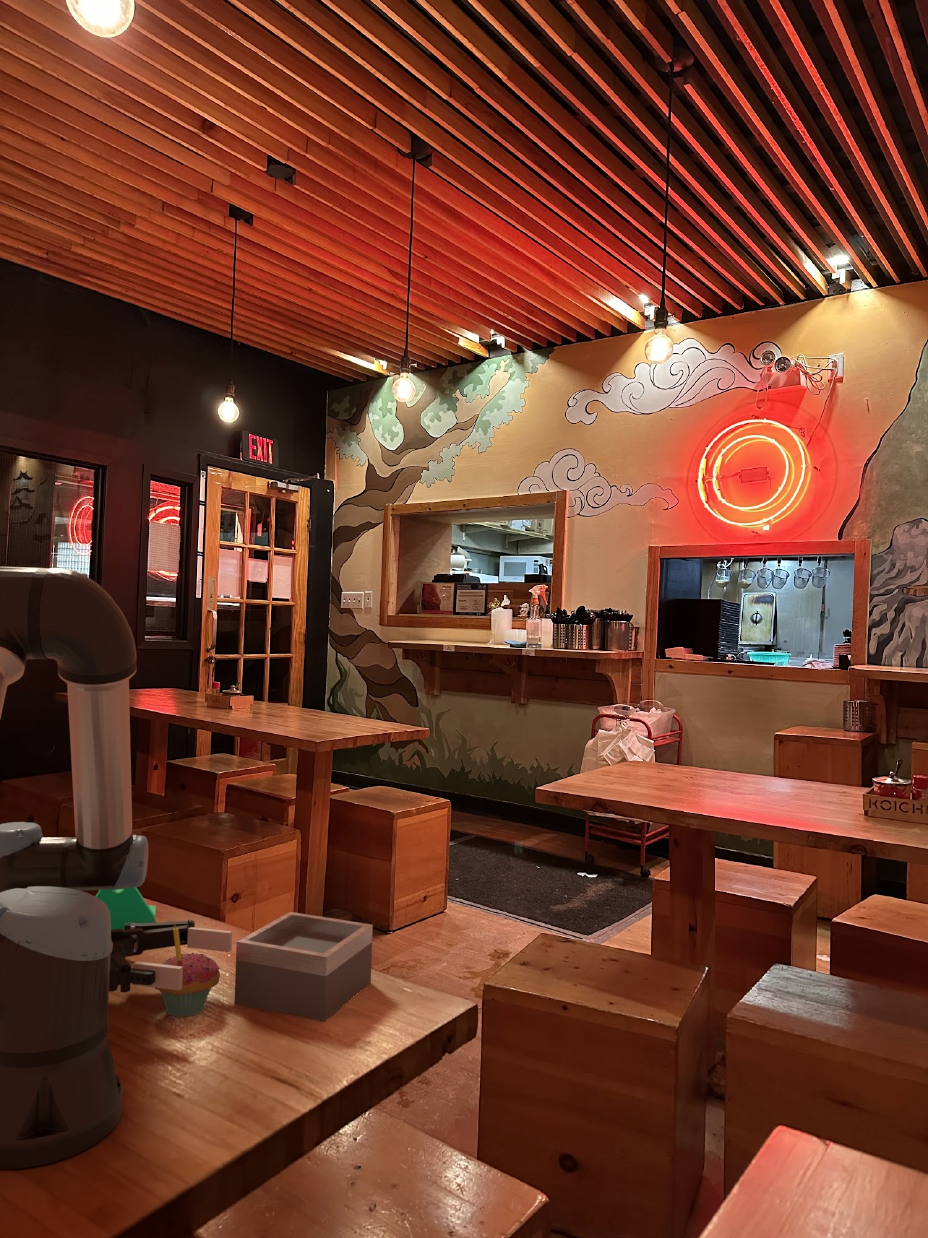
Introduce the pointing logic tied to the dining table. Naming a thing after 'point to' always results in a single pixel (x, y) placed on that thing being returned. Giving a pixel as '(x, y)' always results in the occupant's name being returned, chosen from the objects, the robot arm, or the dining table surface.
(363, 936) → the collar
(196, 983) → the cupcake
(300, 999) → the gray open box
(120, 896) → the camera mount
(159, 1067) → the dining table surface
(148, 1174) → the dining table surface
